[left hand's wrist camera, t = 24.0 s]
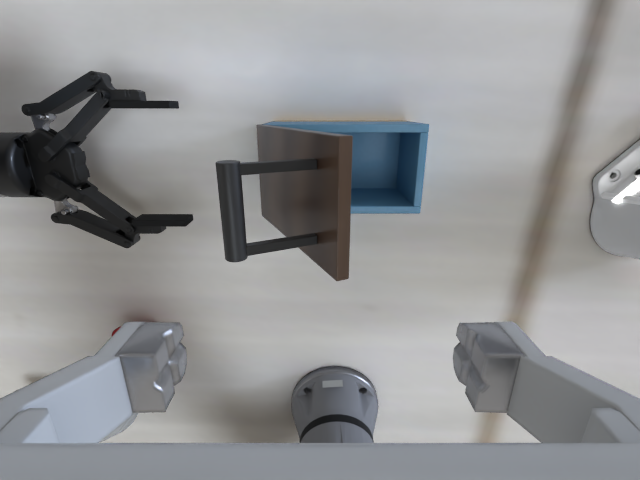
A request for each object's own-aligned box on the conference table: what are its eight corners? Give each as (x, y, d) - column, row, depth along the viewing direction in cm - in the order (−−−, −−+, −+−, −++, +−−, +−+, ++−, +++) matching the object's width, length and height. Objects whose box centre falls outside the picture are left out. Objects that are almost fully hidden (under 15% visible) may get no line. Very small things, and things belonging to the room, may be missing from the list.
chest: (406, 120, 47) (429, 124, 37) (400, 192, 51) (420, 213, 41) (274, 121, 47) (261, 124, 37) (277, 192, 51) (266, 213, 41)
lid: (353, 135, 22) (224, 140, 19) (349, 278, 25) (239, 303, 22) (265, 124, 37) (186, 126, 34) (270, 214, 40) (199, 223, 37)
